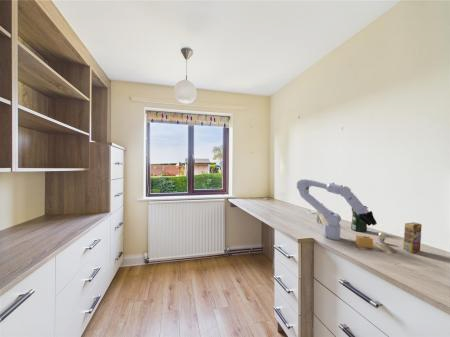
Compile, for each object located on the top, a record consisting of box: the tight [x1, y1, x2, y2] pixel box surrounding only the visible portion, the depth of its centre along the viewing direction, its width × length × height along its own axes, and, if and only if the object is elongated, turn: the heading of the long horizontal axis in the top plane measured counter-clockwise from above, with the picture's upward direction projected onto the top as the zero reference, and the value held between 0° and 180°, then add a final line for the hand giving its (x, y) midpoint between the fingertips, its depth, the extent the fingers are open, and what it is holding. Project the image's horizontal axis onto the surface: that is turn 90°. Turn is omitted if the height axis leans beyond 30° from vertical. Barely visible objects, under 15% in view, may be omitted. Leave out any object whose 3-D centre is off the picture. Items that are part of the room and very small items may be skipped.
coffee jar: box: [350, 205, 368, 232], centre depth 155 cm, size 10×8×19 cm
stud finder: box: [355, 234, 374, 248], centre depth 119 cm, size 7×4×5 cm, turn 76°
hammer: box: [316, 202, 328, 227], centre depth 161 cm, size 16×5×30 cm
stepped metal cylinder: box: [377, 231, 387, 245], centre depth 125 cm, size 3×3×7 cm
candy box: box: [402, 222, 423, 254], centre depth 117 cm, size 9×4×15 cm, turn 115°
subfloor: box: [349, 240, 402, 256], centre depth 118 cm, size 20×19×1 cm
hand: (372, 224), depth 121 cm, fingers open, 7 cm apart
